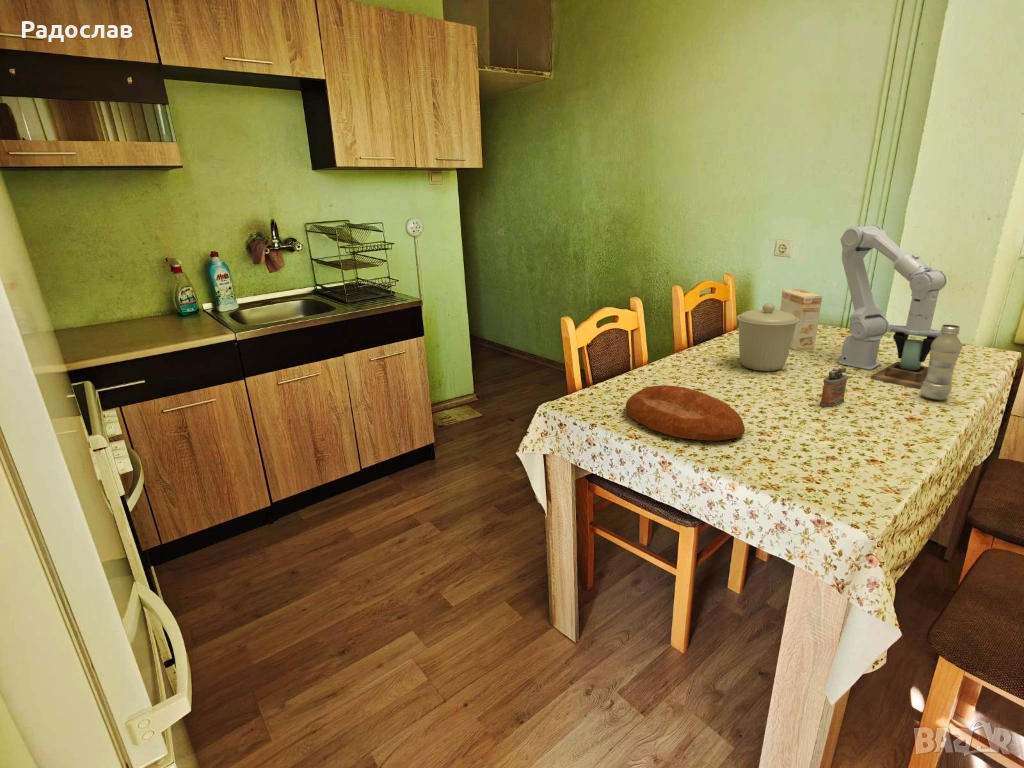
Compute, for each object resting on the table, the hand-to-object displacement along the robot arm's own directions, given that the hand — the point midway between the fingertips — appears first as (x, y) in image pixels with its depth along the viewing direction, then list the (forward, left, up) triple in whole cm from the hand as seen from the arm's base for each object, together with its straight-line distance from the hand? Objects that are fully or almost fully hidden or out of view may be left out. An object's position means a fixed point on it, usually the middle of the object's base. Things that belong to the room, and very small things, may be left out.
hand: (911, 359), depth 154 cm
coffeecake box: (-40, +14, -6) cm, 43 cm away
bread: (-26, -74, -6) cm, 78 cm away
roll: (0, 0, -2) cm, 2 cm away
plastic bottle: (+10, -12, -6) cm, 17 cm away
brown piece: (0, 0, -6) cm, 6 cm away
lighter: (-6, -35, -6) cm, 36 cm away
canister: (-35, -18, -6) cm, 40 cm away
